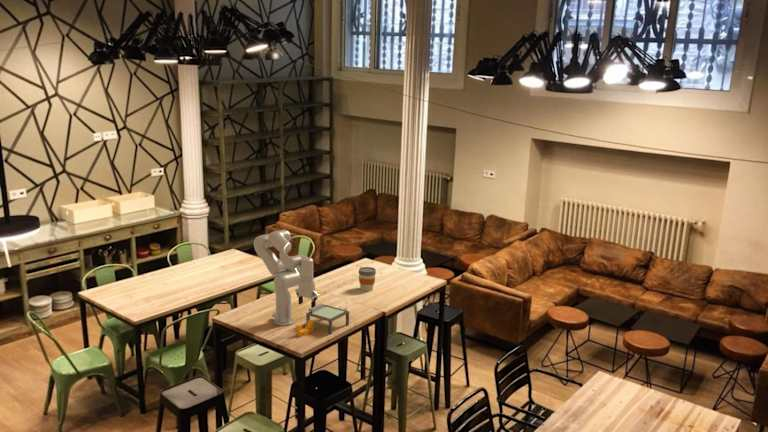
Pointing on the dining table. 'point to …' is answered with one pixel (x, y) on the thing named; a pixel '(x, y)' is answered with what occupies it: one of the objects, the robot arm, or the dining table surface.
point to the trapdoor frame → (329, 319)
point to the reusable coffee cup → (367, 278)
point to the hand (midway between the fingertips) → (307, 305)
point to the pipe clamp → (304, 331)
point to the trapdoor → (325, 311)
